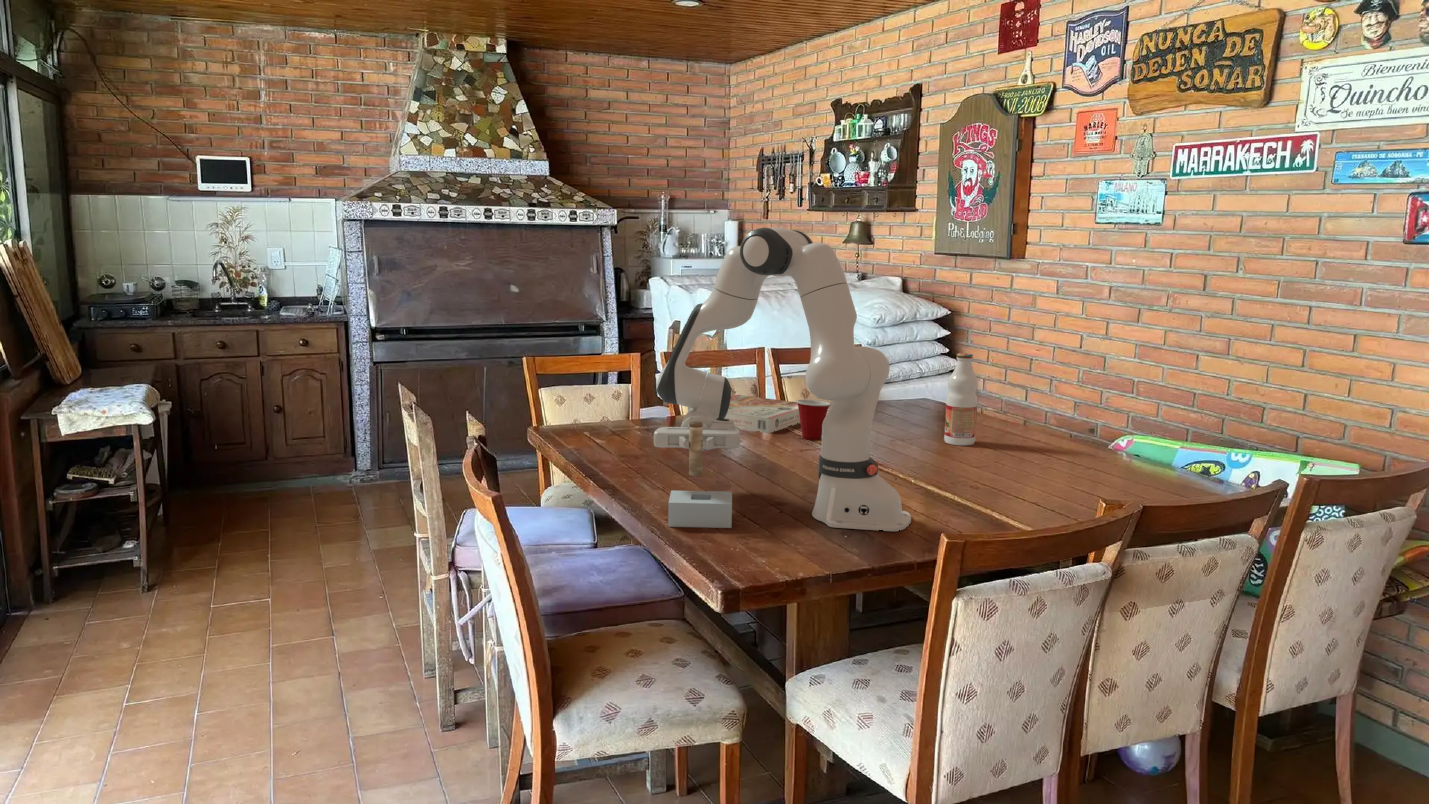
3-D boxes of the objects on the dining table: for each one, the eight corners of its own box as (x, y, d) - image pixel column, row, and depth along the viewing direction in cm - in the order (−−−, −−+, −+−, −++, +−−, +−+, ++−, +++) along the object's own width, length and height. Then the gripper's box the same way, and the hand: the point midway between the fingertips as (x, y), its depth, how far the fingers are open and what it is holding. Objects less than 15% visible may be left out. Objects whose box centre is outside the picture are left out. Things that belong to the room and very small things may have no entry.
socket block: (731, 514, 223) (731, 491, 222) (731, 527, 213) (731, 503, 212) (671, 513, 223) (671, 490, 222) (668, 526, 213) (668, 502, 212)
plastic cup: (836, 439, 304) (838, 402, 302) (810, 443, 298) (811, 405, 296) (814, 433, 313) (815, 396, 311) (788, 436, 307) (789, 399, 305)
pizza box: (737, 394, 354) (815, 404, 337) (737, 409, 355) (814, 419, 338) (687, 407, 328) (769, 418, 311) (687, 422, 329) (769, 434, 312)
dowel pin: (704, 473, 222) (704, 422, 220) (699, 476, 219) (699, 424, 217) (692, 471, 223) (692, 421, 221) (687, 474, 220) (687, 423, 218)
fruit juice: (962, 447, 296) (968, 356, 291) (937, 442, 303) (942, 353, 298) (981, 443, 301) (986, 354, 296) (956, 438, 309) (961, 351, 304)
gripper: (655, 419, 232) (649, 430, 218) (740, 420, 232) (740, 431, 218) (655, 444, 233) (650, 458, 220) (739, 445, 233) (739, 459, 219)
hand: (695, 445), depth 219 cm, fingers closed on dowel pin, 3 cm apart
